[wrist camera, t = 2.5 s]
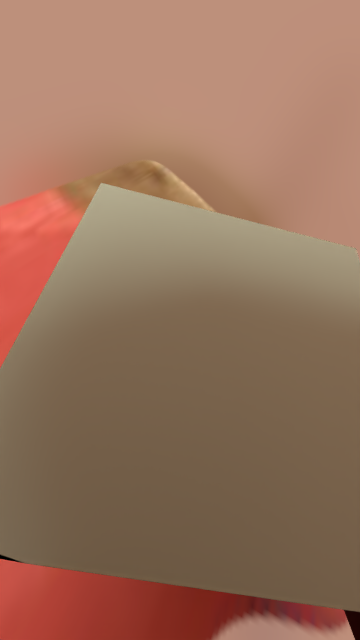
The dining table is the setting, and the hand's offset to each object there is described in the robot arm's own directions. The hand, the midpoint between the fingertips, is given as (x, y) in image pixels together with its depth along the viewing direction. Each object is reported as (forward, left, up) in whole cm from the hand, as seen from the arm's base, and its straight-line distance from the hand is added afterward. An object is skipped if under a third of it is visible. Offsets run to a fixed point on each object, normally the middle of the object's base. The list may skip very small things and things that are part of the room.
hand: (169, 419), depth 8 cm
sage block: (+1, 0, -8) cm, 8 cm away
